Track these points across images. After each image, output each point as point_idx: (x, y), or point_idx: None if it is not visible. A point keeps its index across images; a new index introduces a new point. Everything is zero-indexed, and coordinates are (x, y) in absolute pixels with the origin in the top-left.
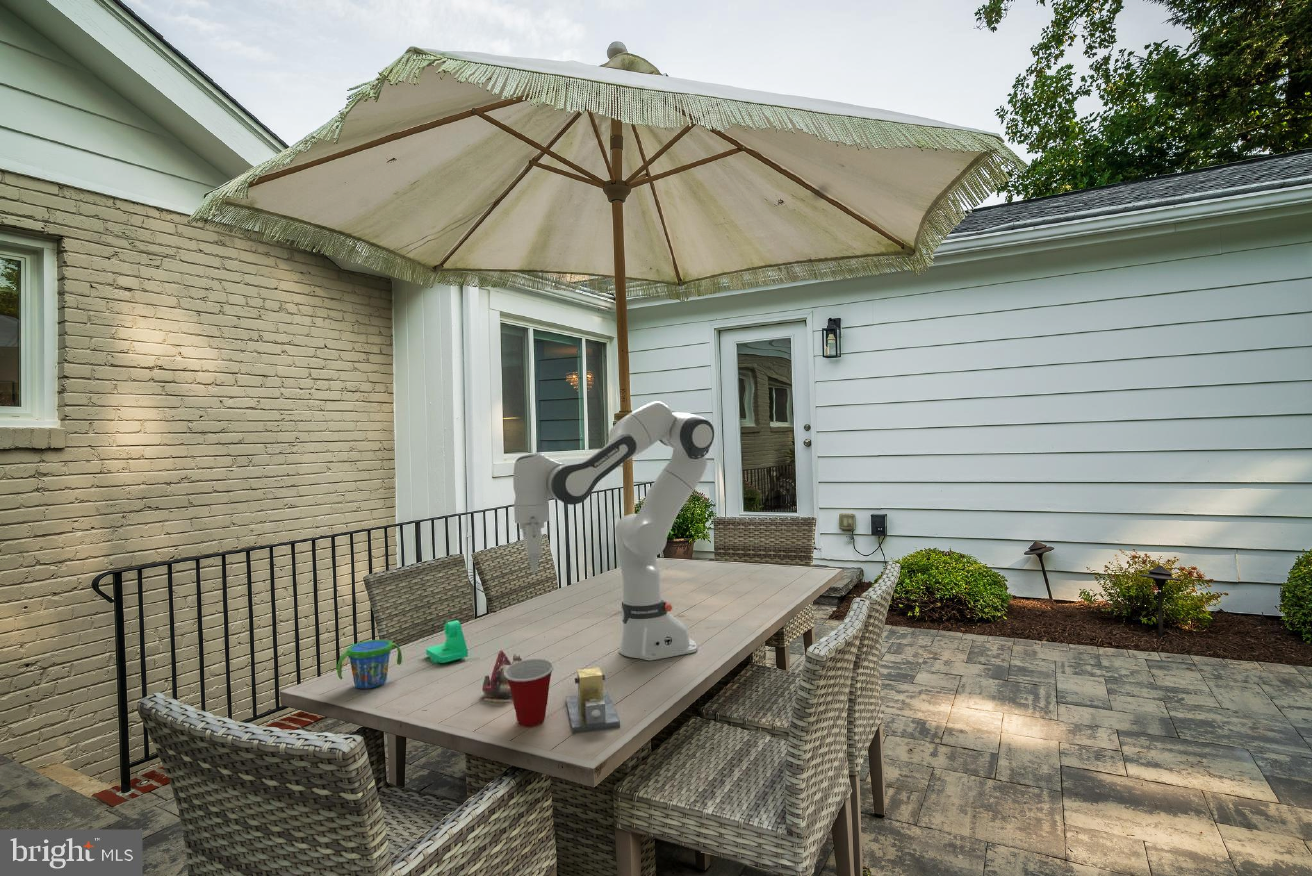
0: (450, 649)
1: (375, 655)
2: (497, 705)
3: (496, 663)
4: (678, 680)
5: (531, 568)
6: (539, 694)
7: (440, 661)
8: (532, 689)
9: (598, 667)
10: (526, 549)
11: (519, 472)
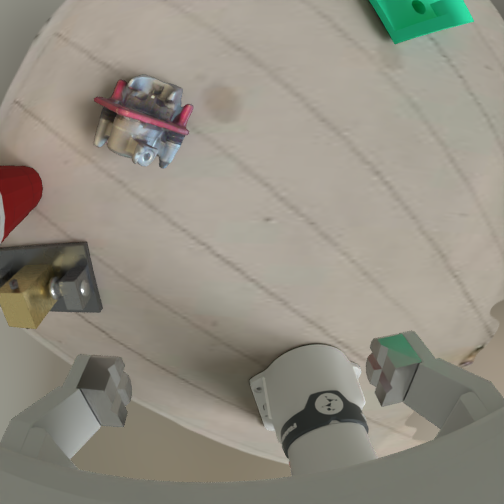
0: (418, 14)
1: None
2: (93, 115)
3: (106, 105)
4: (157, 396)
5: (73, 370)
6: None
7: None
8: None
9: (35, 327)
10: (12, 487)
11: None
